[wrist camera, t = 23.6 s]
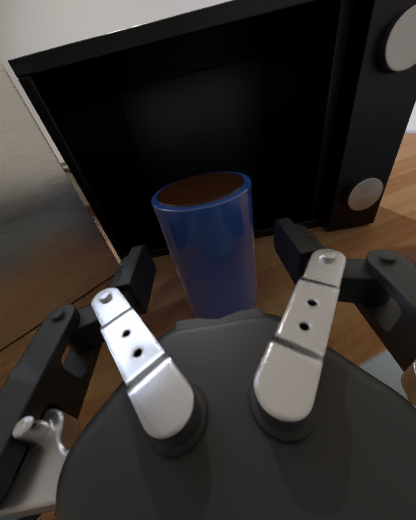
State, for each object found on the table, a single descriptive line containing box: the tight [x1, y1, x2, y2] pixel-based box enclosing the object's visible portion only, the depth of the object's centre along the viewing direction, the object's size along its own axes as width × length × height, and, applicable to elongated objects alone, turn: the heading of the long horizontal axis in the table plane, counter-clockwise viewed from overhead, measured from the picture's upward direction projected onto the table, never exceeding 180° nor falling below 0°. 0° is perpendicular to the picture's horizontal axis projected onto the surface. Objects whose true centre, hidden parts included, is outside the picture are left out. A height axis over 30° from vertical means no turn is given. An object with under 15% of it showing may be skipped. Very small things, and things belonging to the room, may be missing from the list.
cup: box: [151, 172, 257, 319], centre depth 16 cm, size 6×6×10 cm
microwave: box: [8, 0, 416, 261], centre depth 27 cm, size 24×30×19 cm
